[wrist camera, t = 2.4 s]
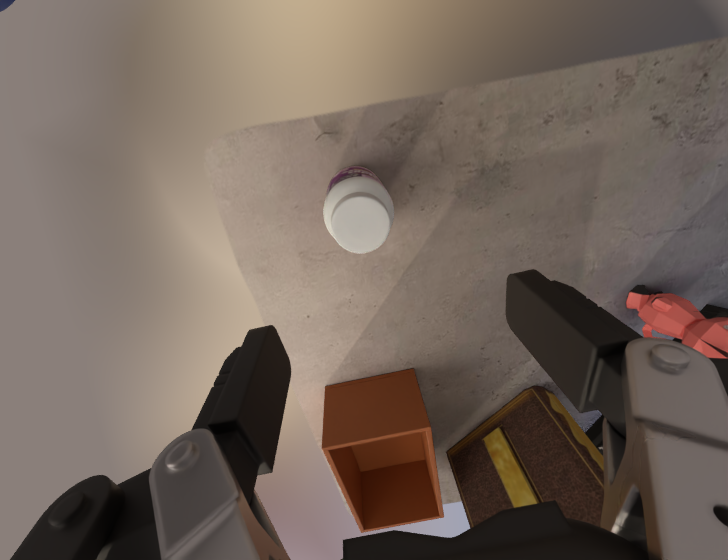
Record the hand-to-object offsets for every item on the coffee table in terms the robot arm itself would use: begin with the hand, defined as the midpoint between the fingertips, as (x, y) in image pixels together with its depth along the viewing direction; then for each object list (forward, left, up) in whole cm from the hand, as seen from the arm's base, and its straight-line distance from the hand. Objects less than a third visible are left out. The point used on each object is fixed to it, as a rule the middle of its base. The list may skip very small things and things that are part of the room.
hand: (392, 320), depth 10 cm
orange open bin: (+12, -33, -20) cm, 40 cm away
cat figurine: (+38, -4, -20) cm, 43 cm away
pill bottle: (0, 0, -20) cm, 20 cm away
